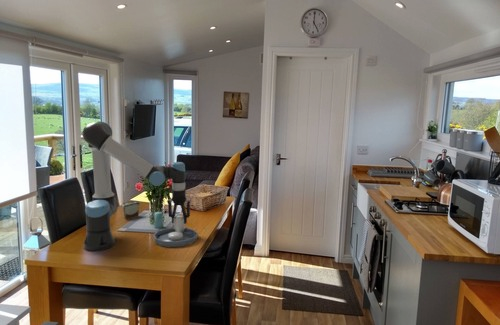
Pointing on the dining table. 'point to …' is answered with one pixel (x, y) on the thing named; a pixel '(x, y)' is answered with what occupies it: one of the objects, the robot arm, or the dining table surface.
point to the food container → (131, 209)
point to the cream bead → (179, 224)
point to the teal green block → (158, 219)
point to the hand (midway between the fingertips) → (179, 228)
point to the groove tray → (169, 243)
